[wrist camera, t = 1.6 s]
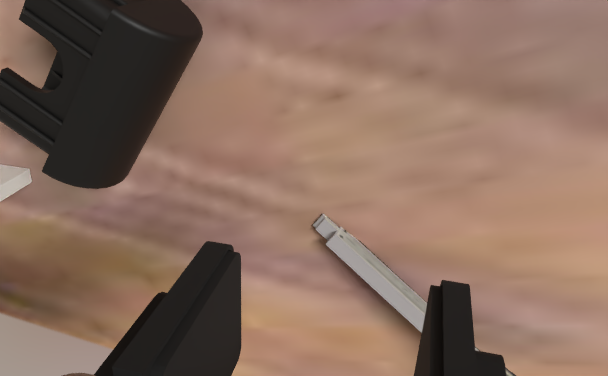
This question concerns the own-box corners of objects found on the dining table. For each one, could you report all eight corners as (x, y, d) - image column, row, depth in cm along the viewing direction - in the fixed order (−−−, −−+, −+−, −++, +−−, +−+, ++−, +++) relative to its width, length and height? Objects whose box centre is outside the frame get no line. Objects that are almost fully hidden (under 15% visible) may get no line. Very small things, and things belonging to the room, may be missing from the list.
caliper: (573, 400, 35) (598, 488, 29) (560, 408, 35) (582, 497, 30) (323, 210, 33) (300, 267, 28) (313, 222, 34) (288, 279, 28)
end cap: (151, 159, 34) (90, 208, 28) (56, 93, 34) (-27, 128, 28) (226, 25, 29) (172, 50, 23) (116, -54, 29) (33, -50, 23)
